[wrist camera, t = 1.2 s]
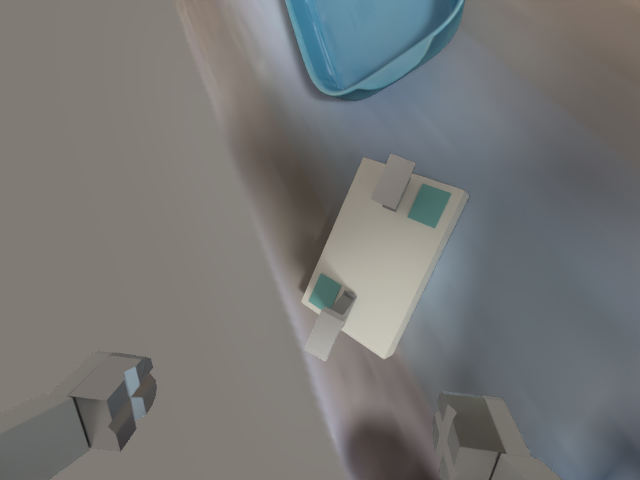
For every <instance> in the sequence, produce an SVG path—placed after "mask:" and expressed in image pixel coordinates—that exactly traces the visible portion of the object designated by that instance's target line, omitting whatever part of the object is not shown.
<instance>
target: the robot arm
mask: <svg viewBox="0 0 640 480" xmlns="http://www.w3.org/2000/svg"><path fill="white" fill-rule="evenodd" d="M152 368H153V365H152V361H151V358H148V357H143V356H136V355H130V354H123V353H113V352H106V351H97V352H94V353H92V354H91V355H90V356H89V357H88V358H87V359H86V360H85V361H84V362H82V363H81V364H80V365H79V366H78V367H77V368H76V369H75V370H74V371H73V372H72V373H71V374H70V375H68V376H67V377H66V378H65V379H64V380H63V381H62V382H61V383H60V384H59V385H58V386H57V387H56V388H55V389H53V390H52V391H51V392H50V393H49V394H41V395H39V396H37V397H35V398H33V399H30V400H28V401H26V402H24V403H22V404H20V405H18V406H15V407H13V408H12V409H9V410H7V411H5V412H3V413H1V414H0V480H50V479H51V478H52V477H54V476H55V475H57V474H58V473H59V472H60V471H62V470H63V469H65V468H66V467H68V466H69V465H70V464H72V463H73V462H74V461H76V460H77V459H78V458H80V457H81V456H82V455H84V454H85V453H87V452H88V451H89V448H92V449H101V450H110V451H119V452H120V451H121V450H122V449H123V447H124V446H125V445H126V443H127V442H128V440H129V439H130V437H131V436H132V434H133V433H134V432H135V430H136V421H137V420H138V419H140V418H141V417H143V416H144V415H146V414H147V412H148V411H149V409H150V408H151V406H152V404H153V402H154V399H155V396H156V389H157V386H156V380H155V379H154V377H153V376H152V375H151V374H150V371H151V370H152ZM438 406H439V411H438V412H437V413H435V414H434V420H433V432H432V435H433V444H434V449H435V453H436V454H437V456H438V457H439V458H440V459H441V464H440V468H439V473H440V478H441V480H562V479H561V478H560V477H559V476H558V475H556V474H555V473H554V472H553V471H552V470H551V469H550V468H549V467H547V466H546V465H545V464H544V463H543V462H542V461H541V460H540V459H539V458H533V457H531V455H530V453H529V451H528V448H527V446H526V444H525V442H524V440H523V438H522V436H521V434H520V432H519V430H518V428H517V426H516V424H515V422H514V420H513V418H512V415H511V413H510V411H509V409H508V407H507V405H506V403H505V401H504V400H503V399H502V398H501V397H492V396H483V395H481V396H479V395H473V394H464V393H454V392H445V391H441V393H440V394H439V398H438Z"/></svg>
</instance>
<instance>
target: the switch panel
mask: <svg viewBox="0 0 640 480" xmlns="http://www.w3.org/2000/svg"><path fill="white" fill-rule="evenodd" d="M385 165H386V164H383V163H380V162H377V161H374V160H371V159H368V158H365V157H363V159H362V161H361V164H360V166H359V168H358V170H357V173H356V175H355V177H354V180H353V182H352V184H351V187H350V189H349V191H348V194H347V196H346V198H345V201H344V203H343V205H342V208H341V210H340V212H339V215H338V217H337V219H336V222H335V224H334V226H333V229H332V231H331V233H330V236H329V238H328V240H327V243H326V245H325V247H324V250H323V252H322V254H321V257H320V259H319V261H318V263H317V266H316V268H315V270H314V273H313V275H312V277H311V280H310V282H309V284H308V287H307V289H306V291H305V294H304V296H303V298H302V301H301V302H302V303H303V304H304V305H306V306H307V307H309V308H310V309H312V310H313V311H315V312H316V313H318V314H320V312H321V310H322V309H323V308H324V307H327V308H329V309H330V308H331V307H332V306H333V305H334V303H335V302H336V301H337V300H338V299H339V298H340V297H341V296H342V294H343V292H344V290H347V291H350V292H352V293H354V294H355V295H357V298H356V300H355V302H354V305H353V307H352V309H351V311H350V313H349V316H348V318H347V320H346V322H345V324H344V327H343V328H341V330H342V331H344V332H345V333H347V334H348V335H349V336H351V337H352V338H354V339H355V340H357V341H358V342H360V343H361V344H362V345H364V346H365V347H367V348H368V349H370V350H371V351H373V352H374V353H376V354H377V355H378V356H380V357H381V358H383V359H386V358H388V357H389V356H391V355H393V353H394V351H395V349H396V347H397V345H398V343H399V341H400V339H401V337H402V335H403V333H404V331H405V329H406V326H407V324H408V322H409V320H410V318H411V316H412V314H413V312H414V310H415V308H416V306H417V304H418V302H419V300H420V298H421V295H422V293H423V291H424V289H425V287H426V285H427V283H428V281H429V279H430V277H431V275H432V273H433V271H434V269H435V267H436V264H437V262H438V260H439V258H440V256H441V254H442V252H443V250H444V248H445V246H446V244H447V242H448V240H449V238H450V236H451V233H452V231H453V229H454V227H455V225H456V223H457V221H458V219H459V217H460V215H461V213H462V211H463V209H464V207H465V205H466V203H467V200H468V198H469V195H468V193H467V192H466V191H465V190H462V189H459V188H456V187H453V186H450V185H447V184H444V183H441V182H438V181H435V180H432V179H429V178H426V177H423V176H420V175H417V174H414V173H412V175H411V177H410V178H411V179H410V182H409V184H408V186H407V188H406V190H405V193H404V195H403V197H402V199H401V201H400V204H399V206H398V208H397V210H396V212H393V211H391V210H388V209H386V208H384V207H382V205H383V204H381V203H378V202H376V201H373V200H372V199H371V196H372V194H373V192H374V190H375V187H376V185H377V183H378V181H379V178H380V176H381V174H382V172H383V169H384V167H385Z"/></svg>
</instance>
